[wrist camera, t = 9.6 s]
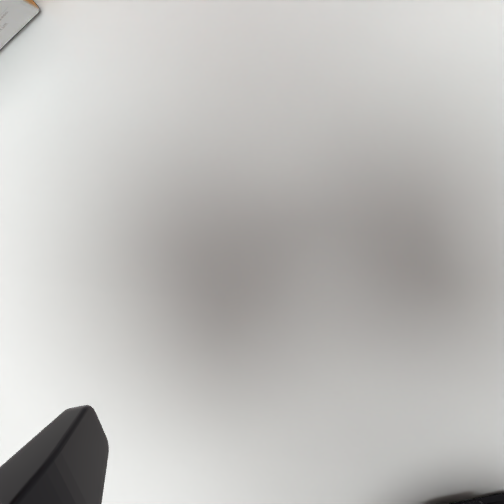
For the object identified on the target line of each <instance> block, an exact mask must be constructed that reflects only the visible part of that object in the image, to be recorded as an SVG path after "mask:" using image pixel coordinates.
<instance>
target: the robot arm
mask: <svg viewBox="0 0 504 504" xmlns="http://www.w3.org/2000/svg"><path fill="white" fill-rule="evenodd" d="M108 452H109V447H108V441H107V438H106V435H105V433H104V431H103V428H102V426H101V424H100V421H99V419H98V417H97V415H96V412H95V410H94V409H93V408H92V407H91V406H89V405H84V406H79V407H74V408H69V409H67V410H65V411H64V412H63V413H61V414H60V415H59V416H58V417H57V418H56V419H55V420H53V421H52V422H51V423H50V424H49V425H48V426H47V427H45V428H44V429H43V430H42V431H41V432H40V433H39V434H37V435H36V436H35V437H34V438H33V439H32V440H31V441H29V442H28V443H27V444H26V445H25V446H24V447H23V448H21V449H20V450H19V451H18V452H17V453H16V454H15V455H13V456H12V457H11V458H10V459H9V460H8V461H7V462H5V463H4V464H3V465H2V466H1V467H0V504H101V503H102V496H103V489H104V482H105V475H106V467H107V460H108ZM451 504H504V493H502V494H497V495H492V496H487V497H482V498H477V499H472V500H466V501H461V502H456V503H451Z"/></svg>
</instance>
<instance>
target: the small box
mask: <svg viewBox="0 0 504 504" xmlns="http://www.w3.org/2000/svg"><path fill="white" fill-rule="evenodd" d="M38 12H39V8H38V6H37V5H36V3H35V2H34V1H33V0H0V49H1V48H2V47H3V46H4V45H5V44H6V43H7V42H8V41H9V40H10V39H11V38H12V37H13V36H14V35H15V34H17V33H18V32H19V31H20V30H21V29H22V28H23V27H24V26H25V25H26V24H27V23H28V22H29V21H30V20H31V19H32V18H33V17H34V16H35V15H36V14H37V13H38Z"/></svg>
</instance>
